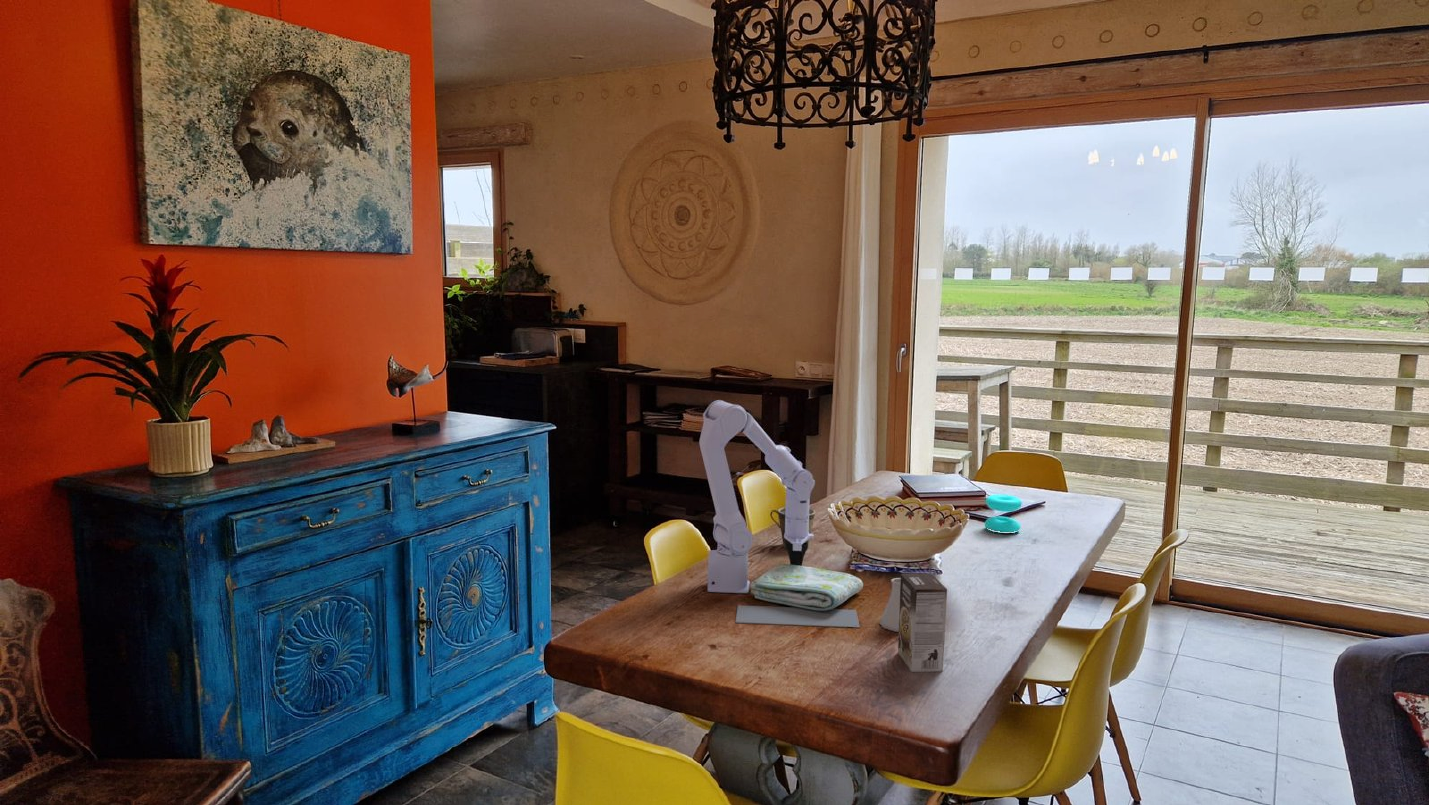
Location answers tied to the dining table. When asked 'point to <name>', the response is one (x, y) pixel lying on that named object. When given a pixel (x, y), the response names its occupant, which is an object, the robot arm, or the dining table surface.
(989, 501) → the donuts
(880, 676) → the dining table surface
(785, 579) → the towel
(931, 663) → the coffee box
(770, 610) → the slate mat
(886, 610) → the flask
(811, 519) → the ceramic cup
